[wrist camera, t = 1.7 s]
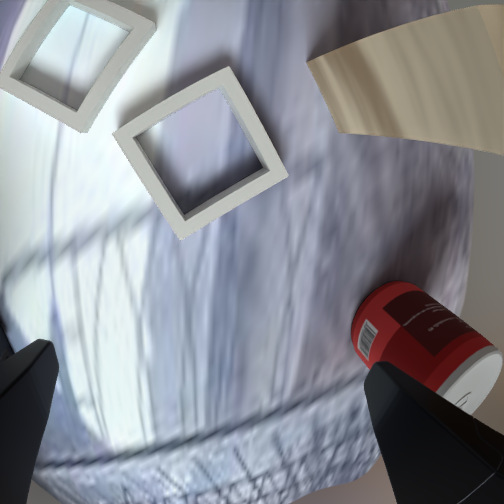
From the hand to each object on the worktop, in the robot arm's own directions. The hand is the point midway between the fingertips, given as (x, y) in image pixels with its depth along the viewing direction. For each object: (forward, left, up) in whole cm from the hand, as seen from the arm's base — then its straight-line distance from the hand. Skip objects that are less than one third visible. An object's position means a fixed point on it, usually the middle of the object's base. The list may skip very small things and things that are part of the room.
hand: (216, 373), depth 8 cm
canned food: (+15, -10, -13) cm, 22 cm away
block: (+11, +9, -12) cm, 19 cm away
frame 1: (-6, +12, -12) cm, 18 cm away
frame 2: (+1, +5, -12) cm, 13 cm away
